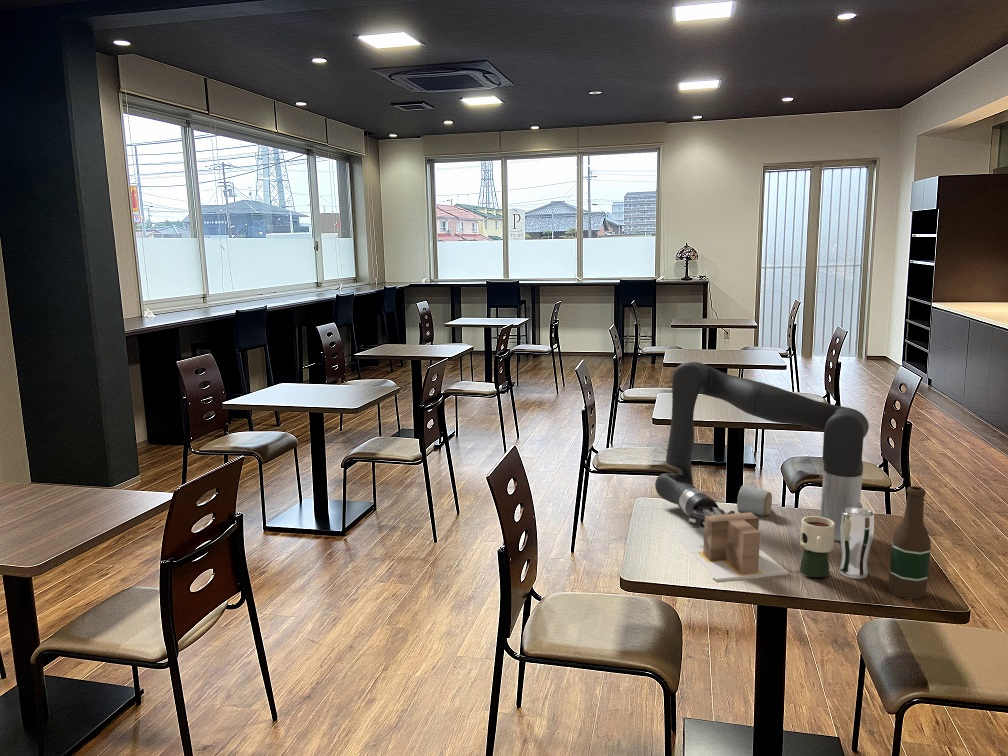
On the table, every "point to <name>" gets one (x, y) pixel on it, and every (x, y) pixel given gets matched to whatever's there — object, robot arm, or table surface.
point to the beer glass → (856, 541)
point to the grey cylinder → (754, 500)
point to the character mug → (816, 545)
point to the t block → (733, 540)
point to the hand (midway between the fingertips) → (727, 530)
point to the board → (722, 569)
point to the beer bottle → (910, 550)
